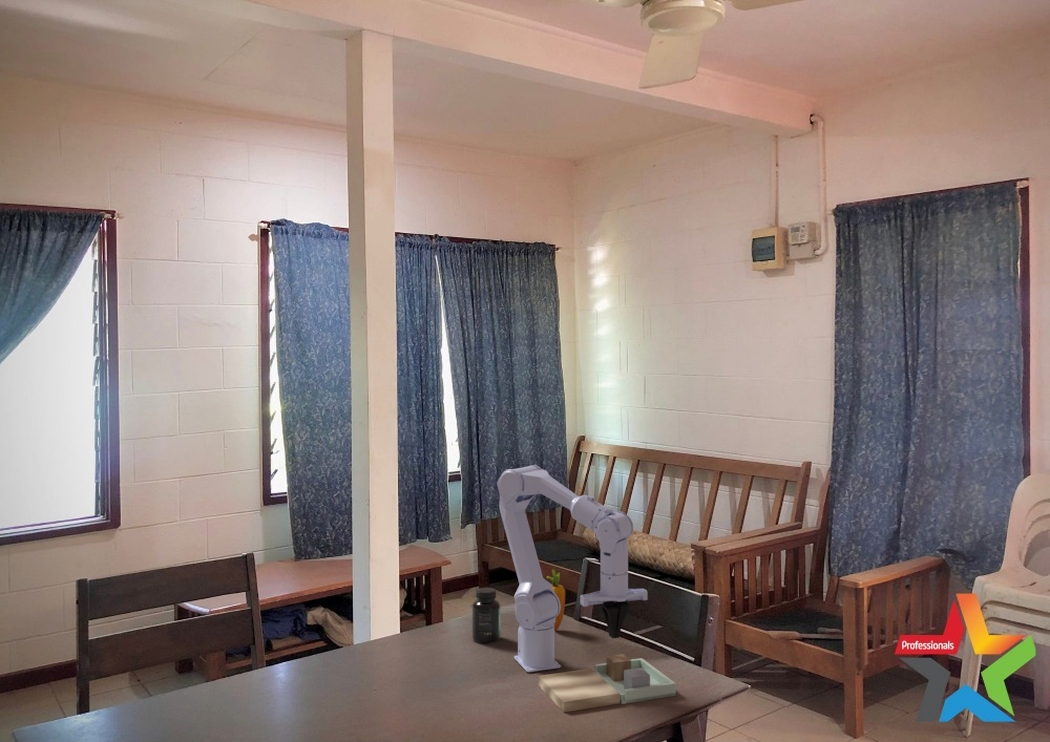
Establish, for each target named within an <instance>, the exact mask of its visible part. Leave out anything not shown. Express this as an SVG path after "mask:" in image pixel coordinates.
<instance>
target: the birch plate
mask: <svg viewBox="0 0 1050 742" xmlns="http://www.w3.org/2000/svg"><path fill="white" fill-rule="evenodd" d="M538 687H540V688H541V690H542V691H543V692H544V693H545V694H546V696H548V697H549V698H550V700H552V701H553V702H554V704H555V705H556V706H557V707H558V708H559V709H560V710H561V712H563V713H567V712H573V711H580V710H587V709H593V708H600V707H606V706H611V705H612V706H613V705H619V704H621V703H620V693H619V692H618V691H616V690H615V689H614V688H613V687H612V686H611V685H610V684H608V683H607V682H606V681H605V680H604V679H603V678H602V677H600V676H599V675H598V674H597V673H596V672H595V670H594V669H592V668H586V669H578V670H570V671H565V672H558V673H550V674H549V673H548V674H543V675H538Z"/></svg>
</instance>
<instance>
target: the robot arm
mask: <svg viewBox="0 0 1050 742" xmlns="http://www.w3.org/2000/svg"><path fill="white" fill-rule="evenodd" d="M496 486H497V489H498V492H499V505H498V507H499V512H500V516H501V520H502V524H503V528H504V531H505V534H506V538H507V542H508V547H509V550H510V553H511V557H512V561H513V565H514V569H515V573H516V576H517V579H518V583H519V585H518V587H517V589H516V592H515V594H514V596H513V598H514V603H515V604H514V605H515V608H514V616H515V619H516V621H517V623H518V624H519V626H518V629H517V655H514V657H513V659H514V660H515V661H516V662H517V663H518V665H520V666H521V667H522V668H523V670H525V672H527V673H533V672H540V671H546V670H547V671H548V670H554V669H555V670H556V669H560V668H562V664H559V662H558V661H557V660H555V630H554V623H555V617H557V616H558V614H559V613H560V609H561V604H560V600H559V598H558V597H557V595H556V594H555V592H554V590H553V587H552V585H553V584H552V583H551V582H550V581H547V580H546V579H545V578H544V576H543V573H542V572H543V571H542V569H541V566H540V562H539V558H538V554H537V550H536V547H535V544H534V539H533V535H532V532H531V528H530V524H529V521H528V516H527V514H526V513H527V512H526V509H527V508H528V506H529V504H530V503H531V500H532V499H534V498H535V497H536V496H537V495H542V496H545V498H548V499H550V500H551V501H553V502H554V503H557V504H559V505H560V506H562V507H564V508H565V509H567V510H569V511H570V516H571V517H572V519H574V520H575V521H577V522H578V523H580V524H581V525H583V526H585V527H586V528H587V529H589V530H590V531H592V532H594V533H595V537H596V539H597V541H598V544H599V549H600V553H599V554H600V557H599V558H600V569H599V571H600V587H599V588H600V590H598V591H594V592H590V593H585V594H580V596H579V598H580V599H579V604H580V605H581V606H582V607H589V606H593V605H598V606H599V608H600V610H601V613H602V614H603V617H604V619H605V622H606V623H605V624H606V626H607V631H608V635H609V637H611V638H612V639H619V638H620V635H621V631H622V627H623V624H624V621H625V619H626V617H627V615H628V613H629V611H630V609H631V605H630V603H628V602H630V601H639V600H641V601H648V590H647V589H645V588H629V538H630V537H631V536H632V534H633V533H634V523H633V521H632V519H631V518H630V516H629V515H628V514H627V513H626V512H624V511H613V508H611V507H607V506H605V505H604V504H602V503H600V502H598V501H597V500H596V497H595V496H593V494H590V495H587V494H583V495H580V496H579V495H577V494H576V493H574V492H573V491H572V490H570V489H569V488H568V487H566V486H565V485H563V484H562V483H561V482H559V481H558V480H556V479H555V478H553V477H552V476H551V475H550V474H549V472H548V471H547V470H545V469H542V468H541V467H540V466H539V465H535V464H531V465H528V466H524V467H518V468H513V469H512V468H509V469H506V470H504V471H503V472H502V473H501V475H500V477H499V478H498V481H497V482H496Z"/></svg>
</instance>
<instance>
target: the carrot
mask: <svg viewBox="0 0 1050 742" xmlns="http://www.w3.org/2000/svg"><path fill="white" fill-rule="evenodd" d="M551 573H552V576H553V577H551V576H550V575H549V576H548V575H547V576H546V579H548V580H549V582H550V583H551V584H552V587H553V590H554V592H555V594H556V595H557V597H558V598H559V600H560V604H561V609H560V613H559V614H558V616H557V617H555V623H554V632H556V631H557V630H558V629H559V628H560V626H561V623H562V621H563V618H564V613H565V607H566V589H565V588H564V586H563V585H561V584H559V582H560V578H561V573H560V572H557V574H556V570H555V569H551Z"/></svg>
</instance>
